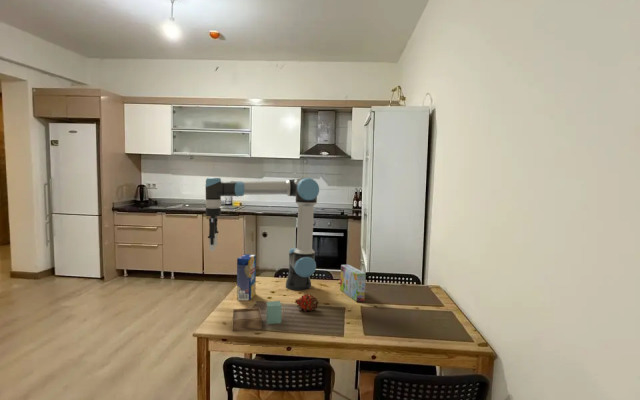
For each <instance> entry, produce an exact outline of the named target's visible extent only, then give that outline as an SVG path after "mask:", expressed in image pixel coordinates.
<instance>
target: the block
mask: <svg viewBox="0 0 640 400" xmlns="http://www.w3.org/2000/svg"><path fill="white" fill-rule="evenodd" d="M266 324H268V325H270V324H271V325H272V324H282V302H281V301H280V300H274V301H270V300H269V301H266Z"/></svg>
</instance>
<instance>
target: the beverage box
mask: <svg viewBox="0 0 640 400" xmlns="http://www.w3.org/2000/svg"><path fill="white" fill-rule="evenodd" d="M256 260H257V254H250V253H249V254H245V253H244V254H242V255H241V256H239V257H237V259H236V300H237V301H248V300H250V299H251V300H252V298H253V297H254V296H255V295H256V293H257V292H256V290H257V287H256V283H257V280H256V276H257V275H256V273H257V272H256V271H257V269H256V268H257V267H256V265H257V261H256ZM251 300H250V301H251Z"/></svg>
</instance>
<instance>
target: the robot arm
mask: <svg viewBox="0 0 640 400" xmlns="http://www.w3.org/2000/svg"><path fill="white" fill-rule="evenodd" d="M319 193H320V185H319V183H318V182H317V181H316V180H314V179H313V178H311V177H300V178H296V179H295V178H294V179H287V180H282V181H281V180H279V181H278V180H277V181H276V180H275V181H274V180H273V181H271V180H270V181H269V180H267V181H264V180H263V181H261V180H259V181H255V180H254V181H252V180H250V181H247V180H245V181H235V180H231V181H222V179H221V178H220V177H207V178H206V179H205V200H204V204H205V215H206V216H209V217H210V218H209V219H208V225H209V226H208V227H209V230H208V231H209V232H208V233H209V234H208V236H207V239H209V240H208V241H209V247H208V248H209V252H215V251H216V247H217V246H218V234H219V231H218V216H221V215H222V208H221V207H222V199H221V198H222V197H243V196H246V195H247V196H251V195H255V196H256V195H257V196H260V195H266V196H267V195H269V196H270V195H286V196H288V197H295V203H296V204H297V226H296V227H297V228H296V229H297V231H296V247H294V248H290V249H289V251H288V275H287V279H286V282H285V287H286V288H287V289H289V290H292V291H306V290H308V289H310V288H311V287H312V281H311V276H312V275H313V274H314V273H315V271H316V270H317V262H316V261H315V255H316V254H315V253H316V252H315V250H314V249H313V237H314V234H313V233H314V232H313V231H314V211H315V210H314V209H315V205H316V204H317V202H318V201H317V200H318V196H319Z"/></svg>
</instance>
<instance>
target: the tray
mask: <svg viewBox="0 0 640 400" xmlns="http://www.w3.org/2000/svg"><path fill="white" fill-rule="evenodd" d="M262 317H263V316H262V311H261V307H248V308H247V307H244V308H233V310H232V332H239V331H252V330H262V329H263V328H262V324H263V323H262V322H263V321H262V319H263V318H262Z"/></svg>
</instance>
